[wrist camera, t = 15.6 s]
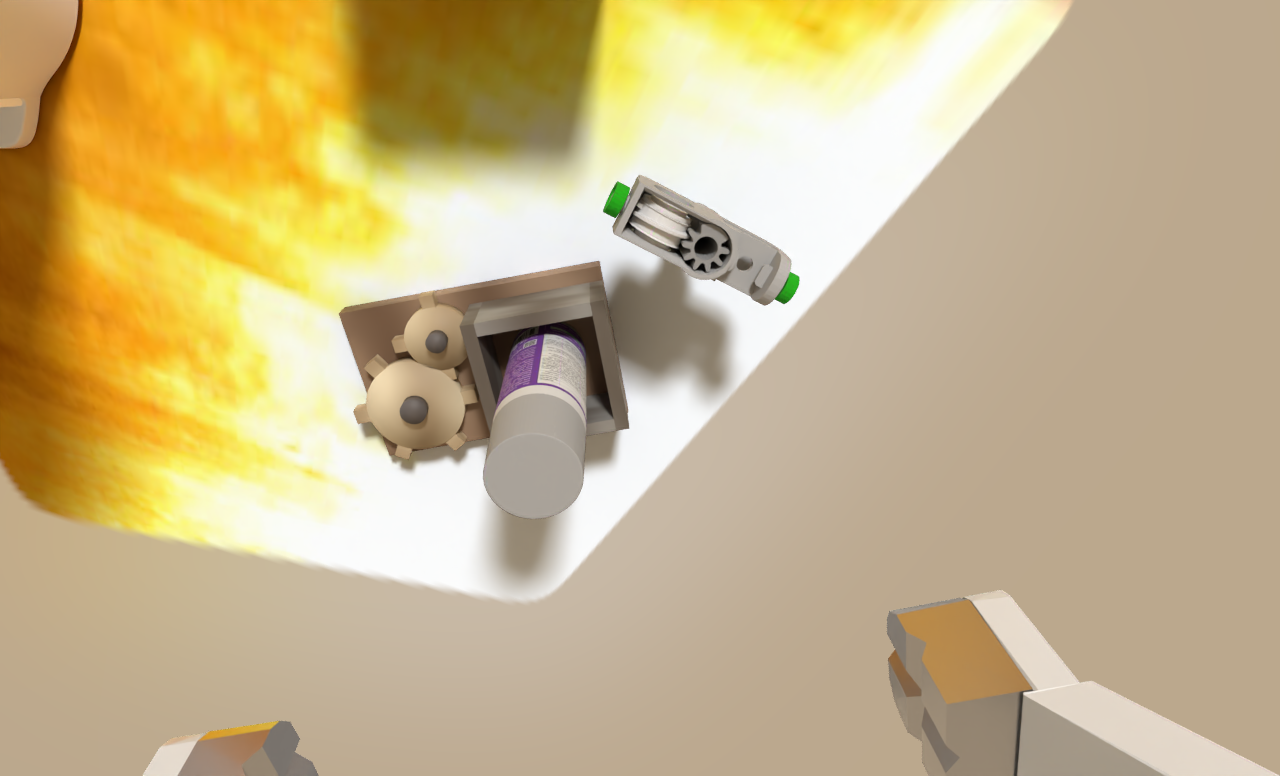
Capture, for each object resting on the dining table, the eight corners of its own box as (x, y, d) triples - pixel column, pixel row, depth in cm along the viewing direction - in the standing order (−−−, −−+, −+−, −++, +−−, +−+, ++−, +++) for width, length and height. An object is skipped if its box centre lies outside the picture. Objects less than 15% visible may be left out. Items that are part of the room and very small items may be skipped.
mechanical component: (741, 269, 46) (779, 321, 37) (594, 193, 43) (597, 229, 34) (766, 226, 45) (811, 269, 36) (617, 147, 42) (625, 171, 33)
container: (519, 392, 47) (492, 528, 33) (504, 323, 45) (469, 439, 31) (591, 381, 47) (594, 513, 33) (579, 312, 45) (577, 423, 32)
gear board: (381, 449, 49) (360, 491, 45) (329, 304, 45) (299, 333, 40) (627, 405, 49) (631, 442, 45) (598, 255, 45) (599, 278, 40)
